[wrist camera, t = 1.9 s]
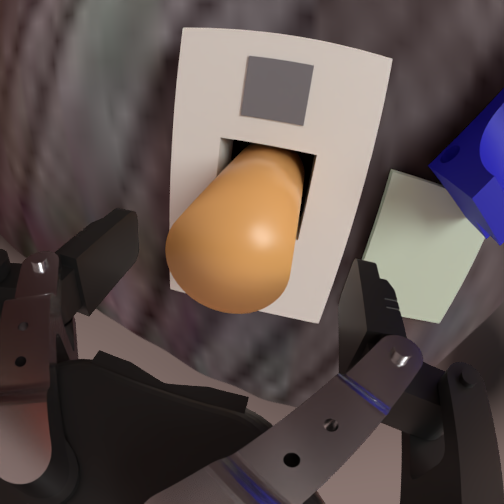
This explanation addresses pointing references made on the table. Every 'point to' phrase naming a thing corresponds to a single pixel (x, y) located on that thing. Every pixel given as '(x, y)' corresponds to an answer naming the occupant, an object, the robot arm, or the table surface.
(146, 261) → the table surface
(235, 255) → the plug
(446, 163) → the cable clip
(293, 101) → the white slab with hole
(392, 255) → the mat
